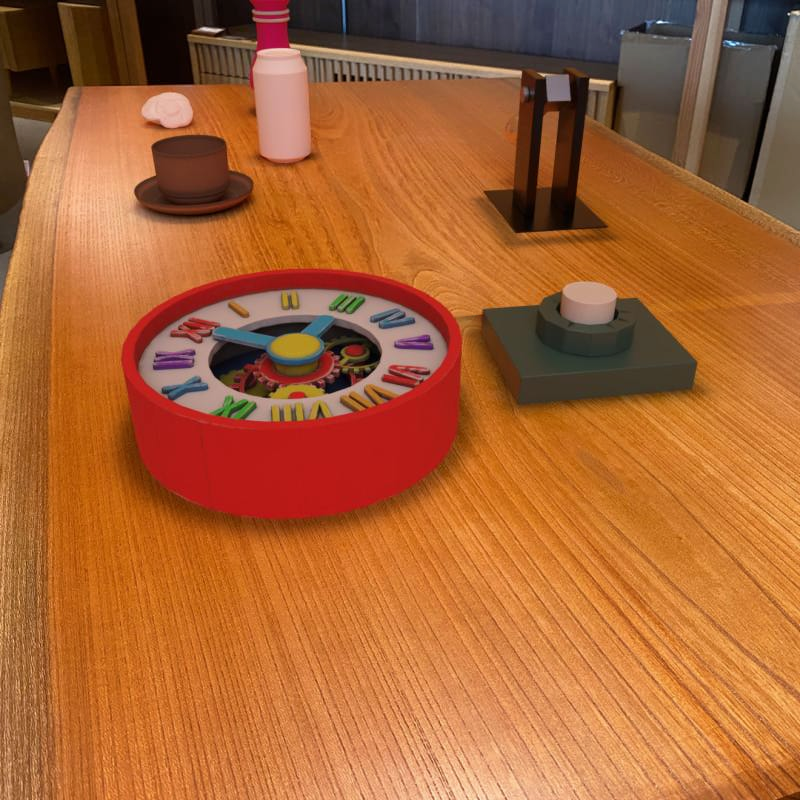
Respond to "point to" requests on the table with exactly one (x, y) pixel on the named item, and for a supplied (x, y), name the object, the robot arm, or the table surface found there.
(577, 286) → the button
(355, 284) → the toy clock
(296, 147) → the beverage can
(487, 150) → the table surface
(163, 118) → the spiral seashell
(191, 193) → the cup and saucer
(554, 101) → the lever
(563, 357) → the button box
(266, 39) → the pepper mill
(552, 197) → the bracket
